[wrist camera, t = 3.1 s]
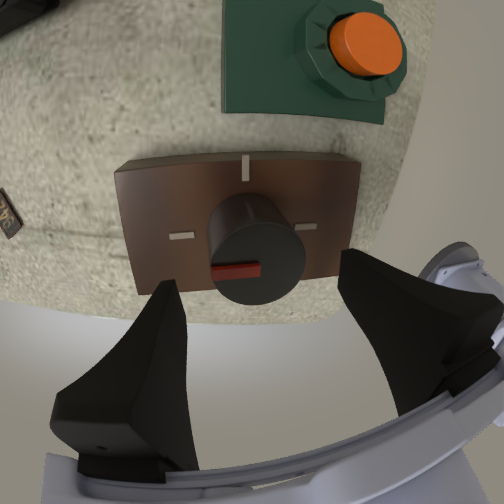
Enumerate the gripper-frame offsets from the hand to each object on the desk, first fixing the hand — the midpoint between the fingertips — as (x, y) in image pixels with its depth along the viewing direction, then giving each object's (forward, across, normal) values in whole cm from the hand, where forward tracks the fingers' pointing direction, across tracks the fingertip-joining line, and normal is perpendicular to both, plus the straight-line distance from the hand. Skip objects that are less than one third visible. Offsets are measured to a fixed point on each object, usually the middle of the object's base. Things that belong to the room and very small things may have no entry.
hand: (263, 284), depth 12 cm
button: (+4, -7, -11) cm, 14 cm away
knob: (+5, 0, 0) cm, 5 cm away
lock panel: (+8, 0, 0) cm, 8 cm away
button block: (+8, -5, -11) cm, 14 cm away
